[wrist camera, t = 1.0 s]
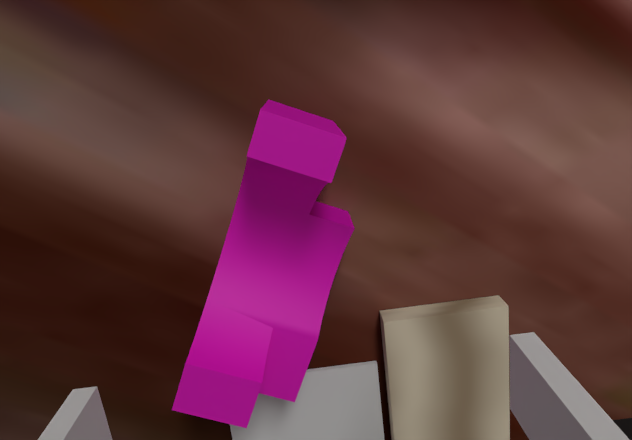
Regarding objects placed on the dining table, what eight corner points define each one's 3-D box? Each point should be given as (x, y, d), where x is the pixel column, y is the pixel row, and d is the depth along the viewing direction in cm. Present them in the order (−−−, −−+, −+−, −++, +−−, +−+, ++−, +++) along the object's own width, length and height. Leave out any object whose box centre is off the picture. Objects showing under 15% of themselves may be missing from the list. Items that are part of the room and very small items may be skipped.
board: (396, 500, 36) (401, 518, 34) (379, 310, 31) (383, 322, 30) (501, 486, 36) (510, 504, 34) (498, 295, 32) (508, 306, 30)
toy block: (294, 358, 32) (294, 440, 25) (199, 332, 32) (171, 409, 24) (375, 134, 29) (402, 156, 21) (268, 99, 28) (260, 109, 21)
